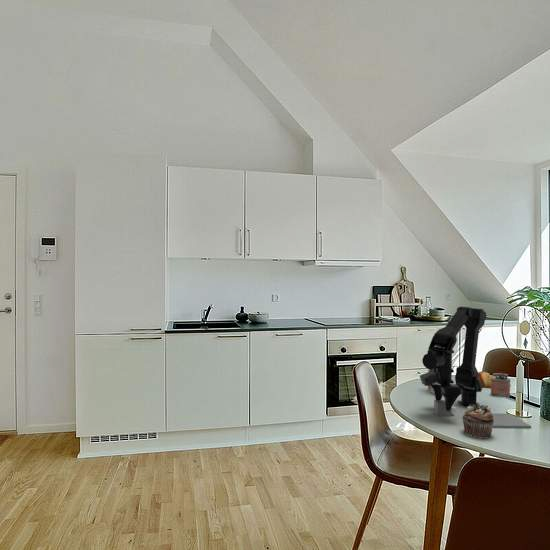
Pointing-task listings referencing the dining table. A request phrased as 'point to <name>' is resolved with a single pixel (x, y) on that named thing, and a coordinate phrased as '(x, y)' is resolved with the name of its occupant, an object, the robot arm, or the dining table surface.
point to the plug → (442, 408)
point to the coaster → (508, 421)
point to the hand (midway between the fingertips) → (442, 406)
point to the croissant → (486, 379)
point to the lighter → (500, 385)
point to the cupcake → (478, 420)
